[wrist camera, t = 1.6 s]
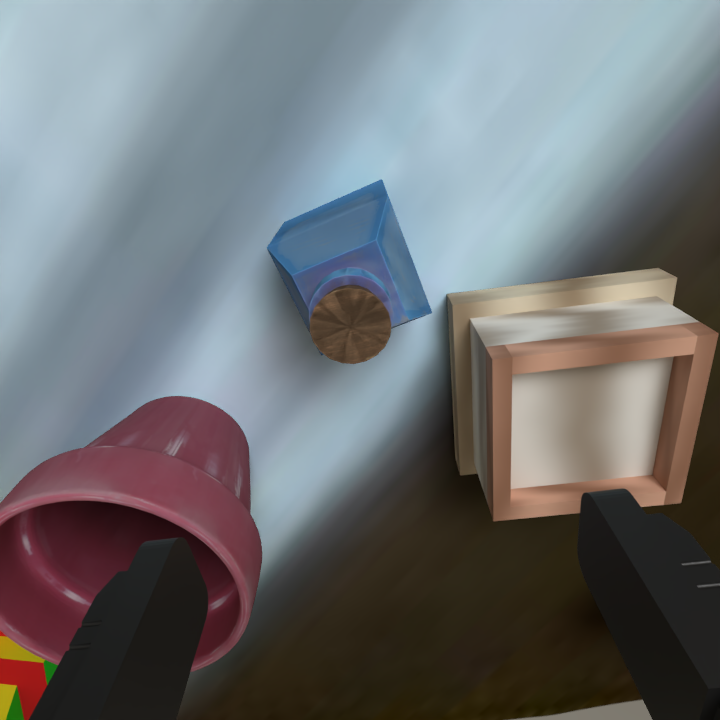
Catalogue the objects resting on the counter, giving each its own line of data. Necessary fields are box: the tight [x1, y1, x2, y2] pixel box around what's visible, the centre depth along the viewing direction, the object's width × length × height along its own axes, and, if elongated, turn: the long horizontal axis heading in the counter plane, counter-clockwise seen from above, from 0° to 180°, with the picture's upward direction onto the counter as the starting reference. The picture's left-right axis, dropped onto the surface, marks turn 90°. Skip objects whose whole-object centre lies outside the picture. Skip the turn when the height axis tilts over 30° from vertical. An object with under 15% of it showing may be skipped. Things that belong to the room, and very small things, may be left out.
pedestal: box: [447, 268, 719, 521], centre depth 30 cm, size 13×13×8 cm
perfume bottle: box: [267, 179, 432, 364], centre depth 24 cm, size 6×6×12 cm
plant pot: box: [0, 396, 262, 672], centre depth 30 cm, size 14×14×13 cm
